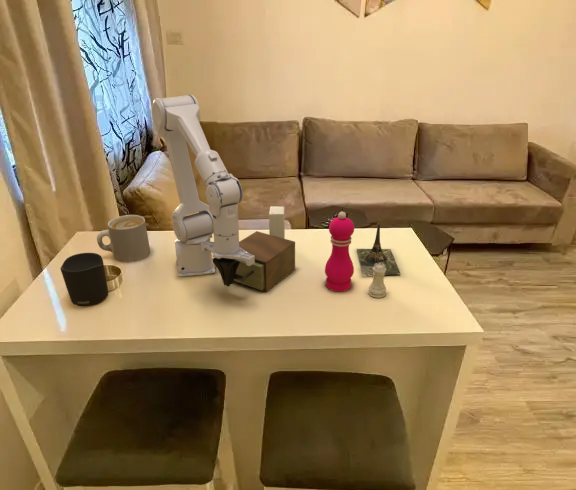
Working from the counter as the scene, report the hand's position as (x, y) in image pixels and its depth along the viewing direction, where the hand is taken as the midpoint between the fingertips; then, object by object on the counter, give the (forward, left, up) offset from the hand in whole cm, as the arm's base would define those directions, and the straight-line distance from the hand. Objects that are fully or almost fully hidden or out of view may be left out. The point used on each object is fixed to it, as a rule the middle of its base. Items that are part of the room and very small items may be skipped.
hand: (228, 283), depth 116 cm
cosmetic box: (+17, +24, -4) cm, 29 cm away
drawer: (+7, +7, -3) cm, 10 cm away
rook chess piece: (+36, -6, -4) cm, 36 cm away
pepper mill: (+28, 0, -4) cm, 28 cm away
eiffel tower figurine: (+42, +9, -4) cm, 43 cm away
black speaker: (-33, +8, -4) cm, 34 cm away
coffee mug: (-26, +30, -4) cm, 40 cm away
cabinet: (+10, +10, -4) cm, 14 cm away
